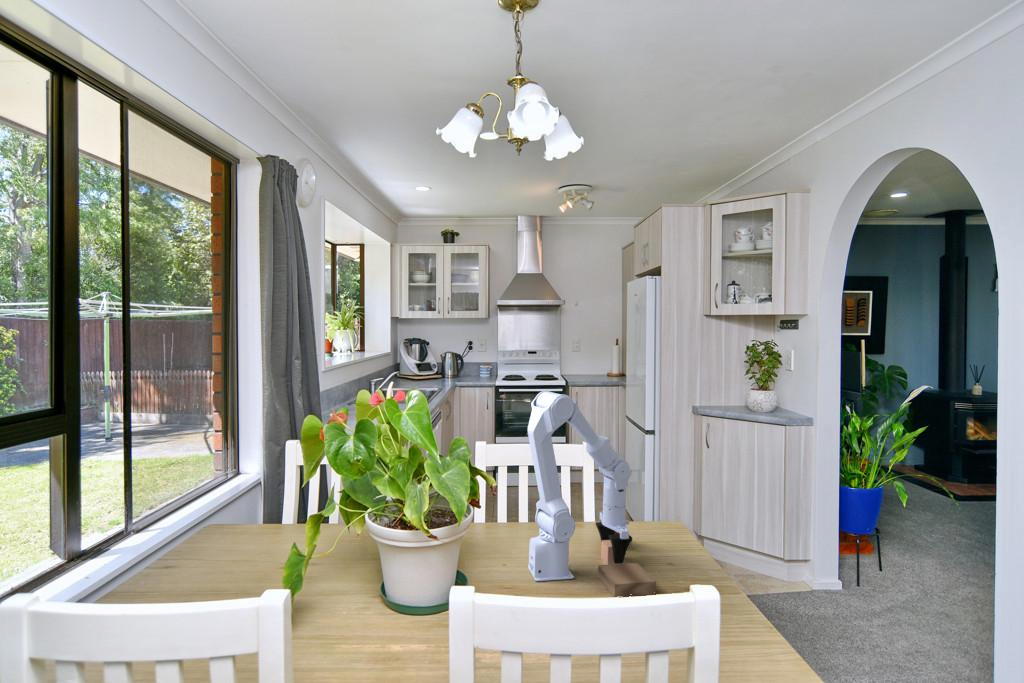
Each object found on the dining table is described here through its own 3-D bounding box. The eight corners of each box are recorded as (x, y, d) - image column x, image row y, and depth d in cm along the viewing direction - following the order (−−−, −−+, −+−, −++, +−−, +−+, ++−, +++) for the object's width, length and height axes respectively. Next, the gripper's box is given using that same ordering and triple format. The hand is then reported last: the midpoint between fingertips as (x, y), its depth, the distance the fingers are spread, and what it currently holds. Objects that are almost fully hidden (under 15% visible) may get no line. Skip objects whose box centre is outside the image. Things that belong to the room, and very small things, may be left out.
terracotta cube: (607, 566, 138) (608, 547, 138) (600, 559, 142) (601, 540, 142) (624, 565, 139) (624, 546, 138) (617, 558, 143) (617, 539, 143)
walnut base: (614, 597, 121) (614, 584, 121) (598, 577, 131) (598, 565, 131) (655, 594, 123) (656, 581, 123) (636, 575, 133) (637, 562, 133)
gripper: (641, 512, 134) (639, 567, 134) (617, 495, 148) (616, 544, 148) (614, 513, 132) (612, 569, 133) (592, 496, 146) (591, 546, 147)
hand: (612, 556), depth 140 cm, fingers open, 7 cm apart
